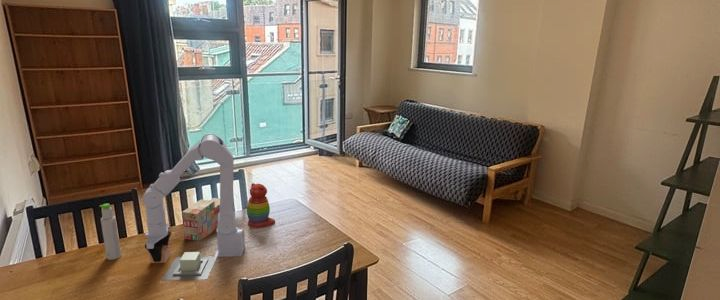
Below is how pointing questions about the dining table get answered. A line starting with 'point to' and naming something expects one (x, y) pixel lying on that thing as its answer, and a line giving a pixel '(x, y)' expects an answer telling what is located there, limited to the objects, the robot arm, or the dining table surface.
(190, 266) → the sage brick
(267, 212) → the stacking bear
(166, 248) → the peach block
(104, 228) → the bottle
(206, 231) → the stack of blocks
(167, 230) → the robot arm
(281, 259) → the dining table surface
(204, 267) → the baseplate
